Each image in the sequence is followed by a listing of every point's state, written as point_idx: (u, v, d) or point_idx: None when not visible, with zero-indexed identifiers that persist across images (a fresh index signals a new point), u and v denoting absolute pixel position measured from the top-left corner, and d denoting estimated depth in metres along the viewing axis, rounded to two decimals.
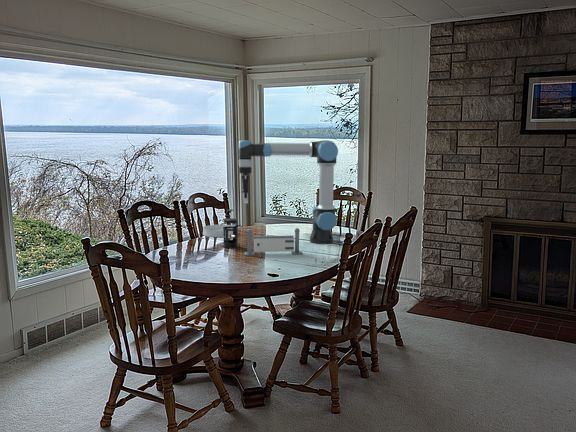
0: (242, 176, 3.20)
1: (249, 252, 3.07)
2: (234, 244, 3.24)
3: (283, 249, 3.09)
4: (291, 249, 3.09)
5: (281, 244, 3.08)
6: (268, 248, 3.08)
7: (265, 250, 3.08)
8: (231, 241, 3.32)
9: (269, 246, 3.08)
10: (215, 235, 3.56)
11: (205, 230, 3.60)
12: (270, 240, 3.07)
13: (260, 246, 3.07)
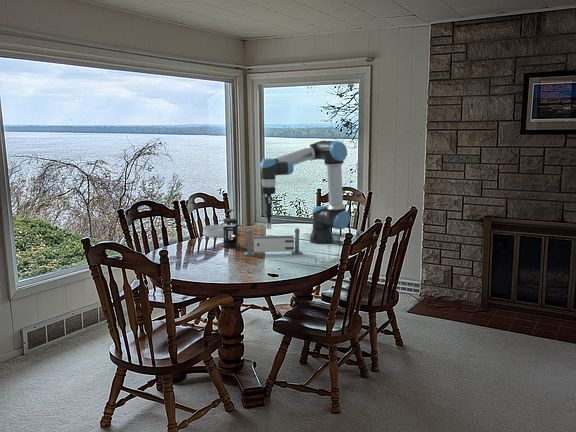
0: None
1: (249, 252, 3.07)
2: (234, 244, 3.24)
3: (283, 249, 3.09)
4: (291, 249, 3.09)
5: (281, 244, 3.08)
6: (268, 248, 3.08)
7: (265, 250, 3.08)
8: (231, 241, 3.32)
9: (269, 246, 3.08)
10: (215, 235, 3.56)
11: (205, 230, 3.60)
12: (270, 240, 3.07)
13: (260, 246, 3.07)
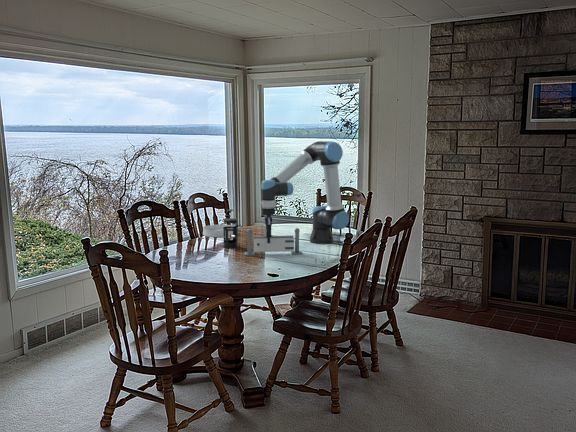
0: (265, 217, 3.03)
1: (249, 252, 3.07)
2: (234, 244, 3.24)
3: (283, 249, 3.09)
4: (291, 249, 3.09)
5: (281, 244, 3.08)
6: None
7: (265, 250, 3.08)
8: (231, 241, 3.32)
9: None
10: (215, 235, 3.56)
11: (205, 230, 3.60)
12: None
13: (260, 246, 3.07)
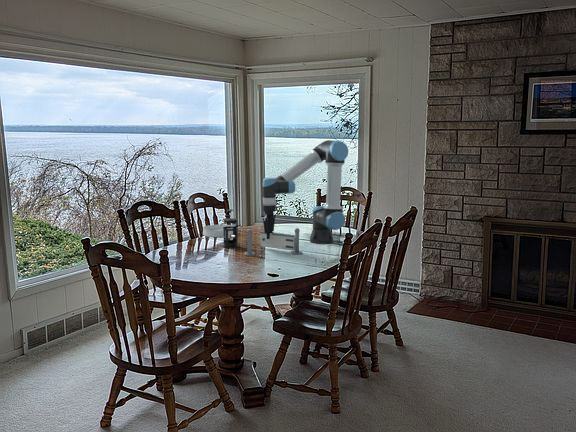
0: None
1: (249, 252, 3.07)
2: (234, 244, 3.24)
3: (284, 247, 3.14)
4: (291, 248, 3.11)
5: (282, 242, 3.14)
6: (272, 244, 3.18)
7: (269, 246, 3.19)
8: (231, 241, 3.32)
9: (272, 242, 3.18)
10: (215, 235, 3.56)
11: (205, 230, 3.60)
12: (273, 236, 3.17)
13: (265, 241, 3.20)
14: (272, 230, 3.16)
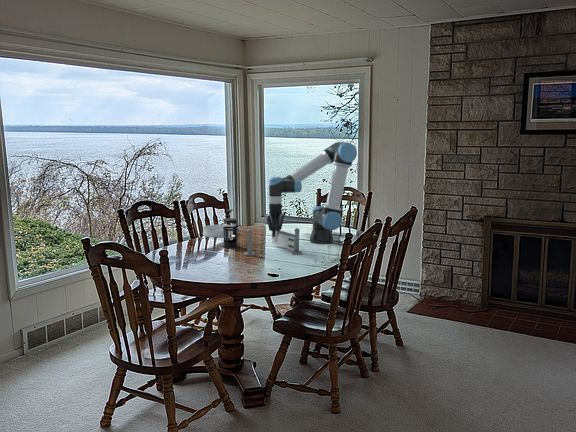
0: None
1: (249, 252, 3.07)
2: (234, 244, 3.24)
3: (288, 246, 3.16)
4: (292, 248, 3.13)
5: (286, 241, 3.17)
6: (279, 242, 3.23)
7: (278, 244, 3.25)
8: (231, 241, 3.32)
9: (280, 241, 3.23)
10: (215, 235, 3.56)
11: (205, 230, 3.60)
12: (280, 235, 3.22)
13: None
14: (279, 228, 3.21)
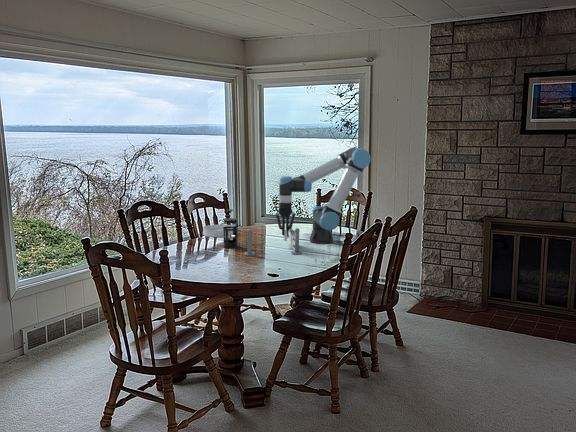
0: None
1: (249, 252, 3.07)
2: (234, 244, 3.24)
3: (293, 246, 3.18)
4: (294, 247, 3.14)
5: (292, 240, 3.19)
6: (290, 241, 3.26)
7: (290, 243, 3.28)
8: (231, 241, 3.32)
9: (290, 240, 3.26)
10: (215, 235, 3.56)
11: (205, 230, 3.60)
12: (290, 234, 3.24)
13: (289, 238, 3.31)
14: (289, 227, 3.24)
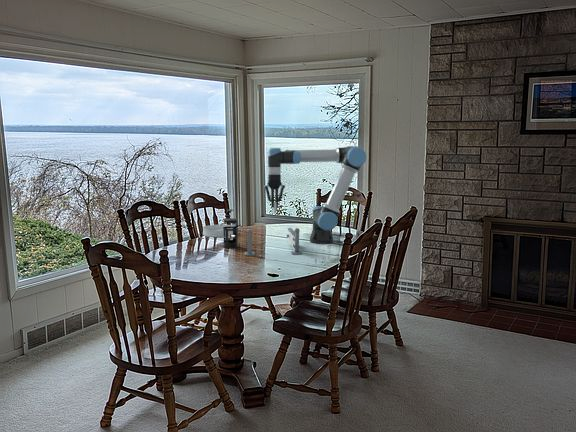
0: None
1: (249, 252, 3.07)
2: (234, 244, 3.24)
3: (293, 246, 3.18)
4: (294, 247, 3.14)
5: (292, 240, 3.19)
6: (290, 241, 3.26)
7: (290, 243, 3.28)
8: (231, 241, 3.32)
9: (290, 240, 3.26)
10: (215, 235, 3.56)
11: (205, 230, 3.60)
12: (290, 234, 3.24)
13: (289, 238, 3.31)
14: (279, 200, 3.22)
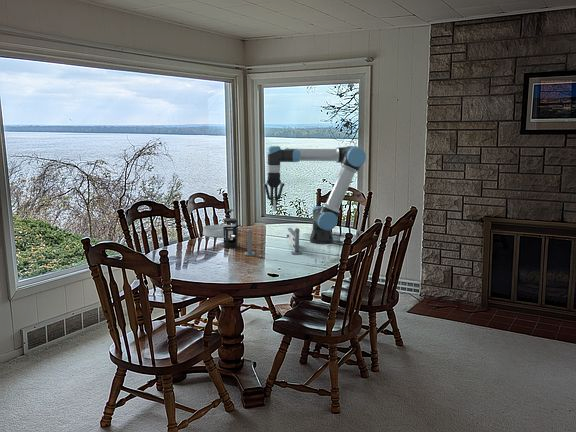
0: None
1: (249, 252, 3.07)
2: (234, 244, 3.24)
3: (293, 246, 3.18)
4: (294, 247, 3.14)
5: (292, 240, 3.19)
6: (290, 241, 3.26)
7: (290, 243, 3.28)
8: (231, 241, 3.32)
9: (290, 240, 3.26)
10: (215, 235, 3.56)
11: (205, 230, 3.60)
12: (290, 234, 3.24)
13: (289, 238, 3.31)
14: (278, 198, 3.22)
